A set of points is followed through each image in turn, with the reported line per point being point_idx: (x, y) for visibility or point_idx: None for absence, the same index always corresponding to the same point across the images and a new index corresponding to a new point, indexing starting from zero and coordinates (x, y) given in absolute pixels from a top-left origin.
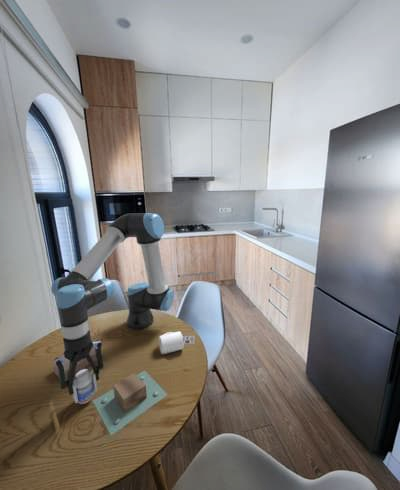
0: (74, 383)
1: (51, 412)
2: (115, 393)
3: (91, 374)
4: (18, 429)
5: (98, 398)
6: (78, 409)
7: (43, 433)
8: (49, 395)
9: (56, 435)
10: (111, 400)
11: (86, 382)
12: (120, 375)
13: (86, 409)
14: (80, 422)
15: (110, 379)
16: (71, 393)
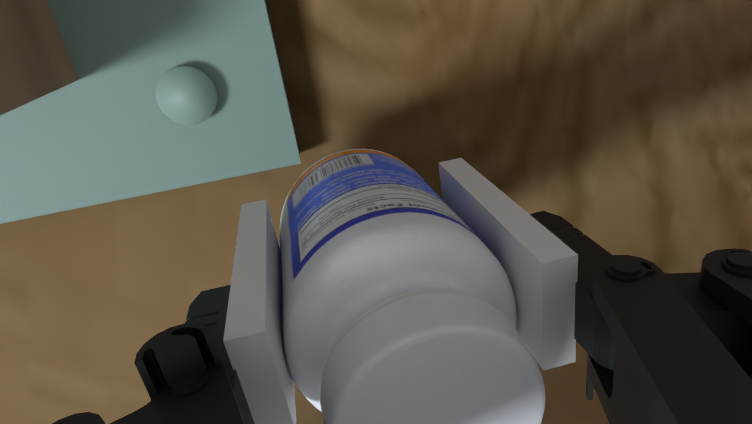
0: (544, 304)
1: None
2: (21, 45)
3: (287, 383)
4: (736, 210)
5: (246, 163)
6: (411, 163)
7: (644, 85)
8: (552, 382)
9: (585, 5)
10: (115, 59)
11: (376, 260)
12: (26, 351)
13: (355, 126)
14: (416, 14)
15: (128, 344)
16: (538, 221)
